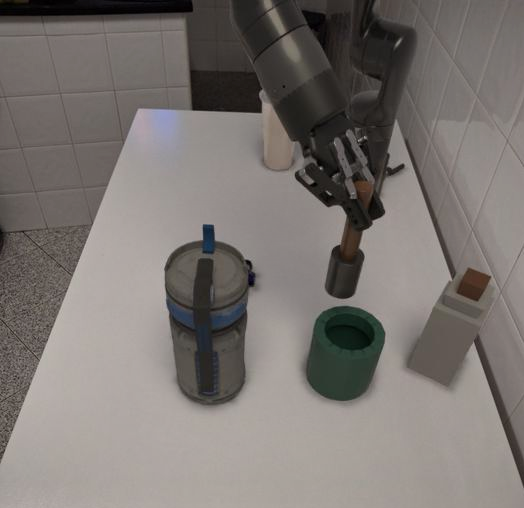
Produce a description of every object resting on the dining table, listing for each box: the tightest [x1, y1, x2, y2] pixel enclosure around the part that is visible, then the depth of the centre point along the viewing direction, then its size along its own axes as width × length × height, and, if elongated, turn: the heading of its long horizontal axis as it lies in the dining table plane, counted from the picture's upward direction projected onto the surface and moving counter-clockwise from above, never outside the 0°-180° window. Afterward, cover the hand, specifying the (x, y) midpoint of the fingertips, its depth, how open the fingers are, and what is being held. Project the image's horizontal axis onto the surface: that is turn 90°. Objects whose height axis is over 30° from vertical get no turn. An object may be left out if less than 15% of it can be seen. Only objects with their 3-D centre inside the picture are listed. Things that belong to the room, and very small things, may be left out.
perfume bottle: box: [407, 267, 496, 387], centre depth 75 cm, size 7×7×18 cm
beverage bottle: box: [163, 223, 250, 405], centre depth 67 cm, size 10×13×25 cm
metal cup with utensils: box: [258, 27, 319, 171], centre depth 107 cm, size 11×11×30 cm
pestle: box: [324, 181, 374, 300], centre depth 65 cm, size 4×4×16 cm
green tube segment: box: [305, 305, 386, 402], centre depth 75 cm, size 10×10×10 cm
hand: (371, 222), depth 61 cm, fingers closed on pestle, 2 cm apart
